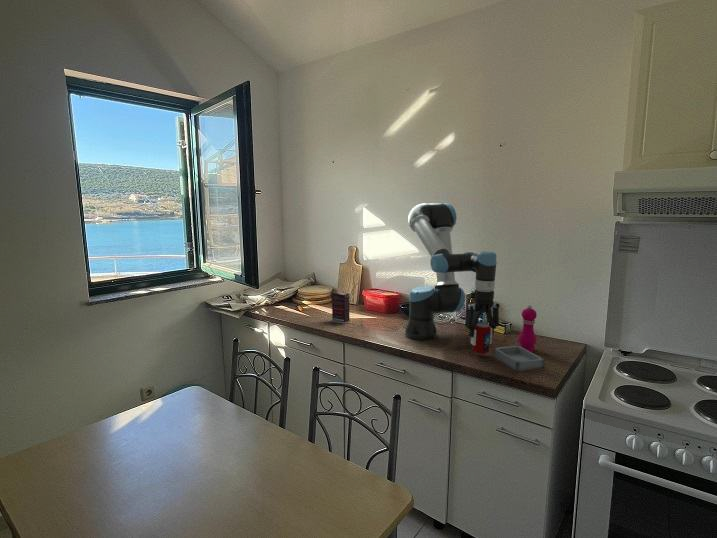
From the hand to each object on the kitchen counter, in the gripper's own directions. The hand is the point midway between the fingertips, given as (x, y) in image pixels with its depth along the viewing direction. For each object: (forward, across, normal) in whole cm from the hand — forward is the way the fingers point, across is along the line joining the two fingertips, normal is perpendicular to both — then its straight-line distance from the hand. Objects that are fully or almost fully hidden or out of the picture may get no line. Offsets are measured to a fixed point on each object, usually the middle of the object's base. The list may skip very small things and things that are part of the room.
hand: (481, 343), depth 169 cm
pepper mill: (+6, +24, +1) cm, 24 cm away
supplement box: (+7, -45, +63) cm, 78 cm away
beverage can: (+4, 0, 0) cm, 4 cm away
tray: (+5, +11, -10) cm, 16 cm away
